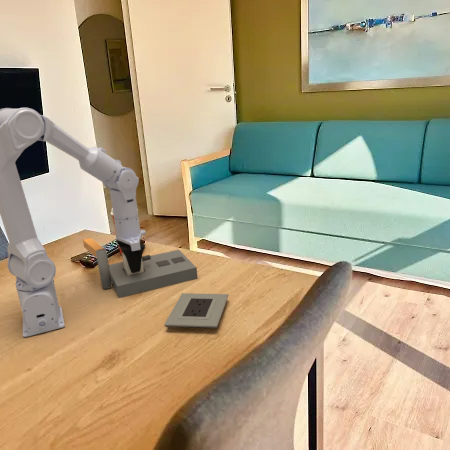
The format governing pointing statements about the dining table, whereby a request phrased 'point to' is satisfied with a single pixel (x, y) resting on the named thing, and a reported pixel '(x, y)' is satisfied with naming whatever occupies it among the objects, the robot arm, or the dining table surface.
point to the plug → (126, 266)
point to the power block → (153, 273)
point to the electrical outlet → (197, 311)
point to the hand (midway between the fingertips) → (133, 268)
